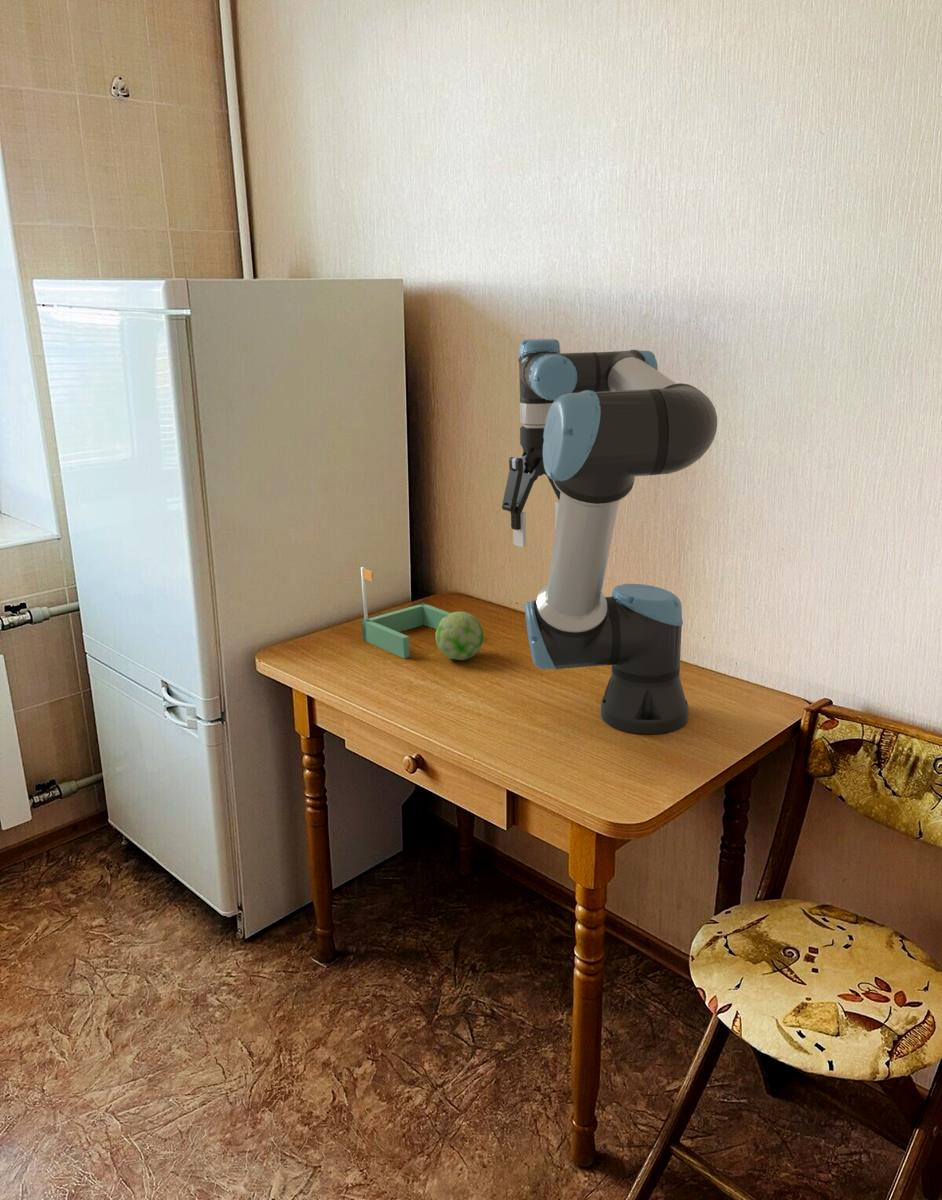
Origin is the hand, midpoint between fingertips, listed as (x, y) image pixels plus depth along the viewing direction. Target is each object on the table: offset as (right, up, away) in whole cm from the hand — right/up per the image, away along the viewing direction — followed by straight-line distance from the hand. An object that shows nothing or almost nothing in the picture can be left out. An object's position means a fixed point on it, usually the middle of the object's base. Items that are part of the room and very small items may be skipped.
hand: (541, 540), depth 184 cm
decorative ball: (-16, -24, +12) cm, 31 cm away
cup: (-25, -20, +23) cm, 40 cm away
